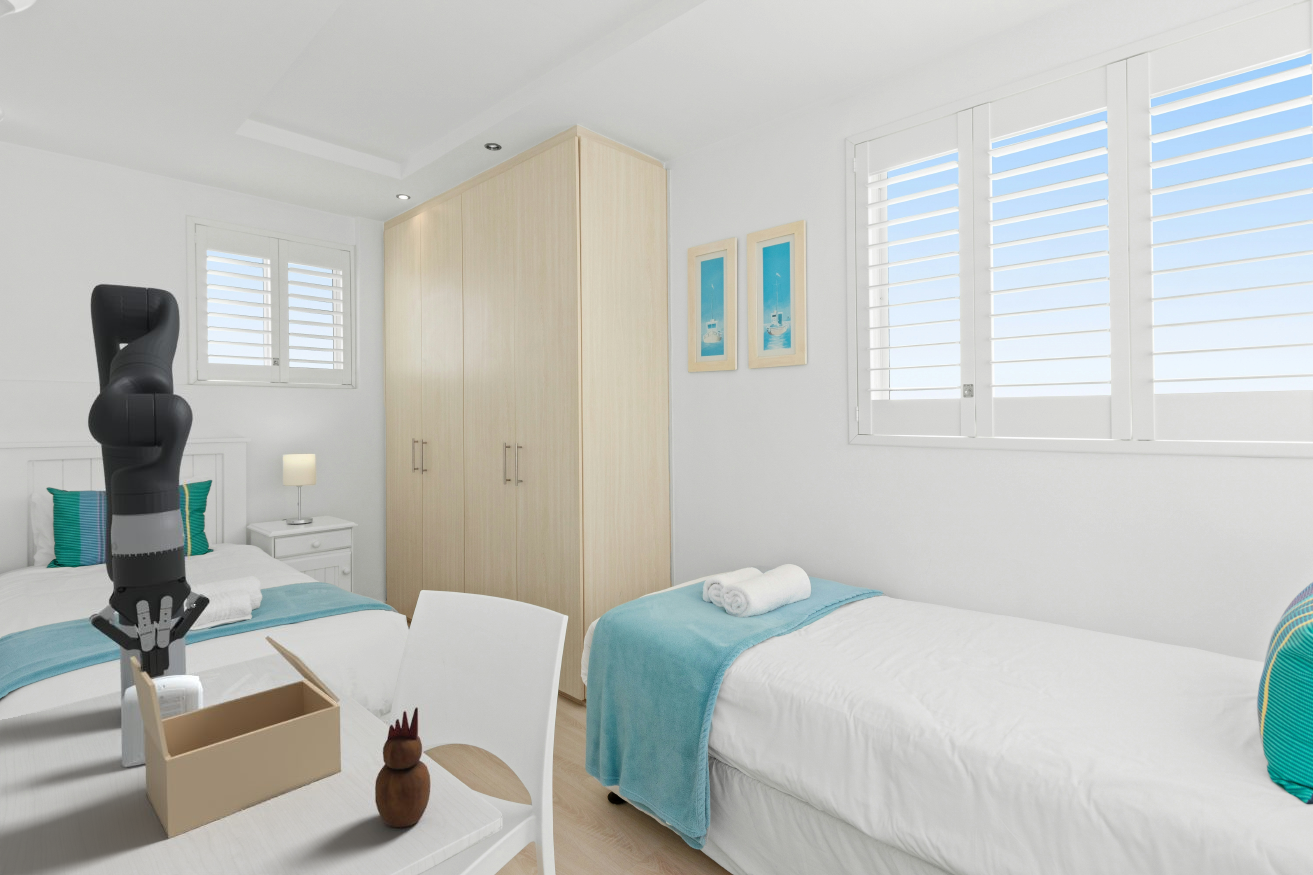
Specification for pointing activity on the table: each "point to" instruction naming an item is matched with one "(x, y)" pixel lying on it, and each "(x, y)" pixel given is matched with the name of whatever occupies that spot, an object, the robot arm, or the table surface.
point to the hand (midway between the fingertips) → (155, 674)
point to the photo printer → (173, 700)
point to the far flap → (302, 669)
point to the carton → (241, 754)
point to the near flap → (149, 706)
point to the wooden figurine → (402, 776)
